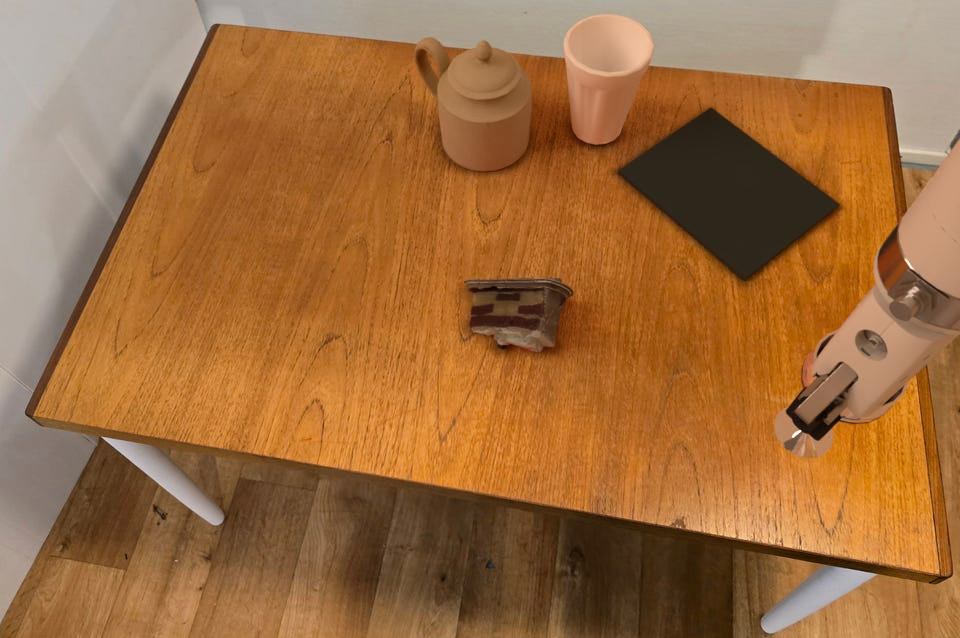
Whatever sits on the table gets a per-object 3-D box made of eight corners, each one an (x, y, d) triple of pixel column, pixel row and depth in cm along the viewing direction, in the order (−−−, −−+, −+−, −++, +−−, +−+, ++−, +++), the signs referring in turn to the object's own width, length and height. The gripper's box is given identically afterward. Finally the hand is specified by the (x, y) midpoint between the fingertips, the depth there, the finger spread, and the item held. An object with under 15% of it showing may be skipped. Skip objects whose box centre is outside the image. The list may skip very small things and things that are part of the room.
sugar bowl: (402, 161, 92) (385, 65, 78) (424, 97, 97) (411, -3, 84) (521, 178, 90) (524, 83, 77) (537, 112, 95) (542, 12, 82)
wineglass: (861, 443, 64) (930, 381, 53) (801, 483, 62) (860, 427, 52) (805, 382, 67) (860, 312, 56) (747, 418, 65) (792, 354, 55)
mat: (838, 207, 86) (840, 204, 86) (744, 281, 82) (745, 278, 81) (709, 110, 94) (710, 107, 94) (617, 173, 90) (618, 169, 89)
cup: (594, 171, 90) (607, 89, 79) (540, 124, 94) (544, 40, 82) (653, 131, 93) (674, 46, 81) (598, 87, 97) (610, 1, 85)
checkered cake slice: (446, 342, 79) (521, 337, 70) (456, 279, 81) (532, 266, 72) (512, 362, 85) (590, 359, 76) (520, 302, 87) (598, 293, 77)
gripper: (916, 399, 39) (800, 502, 54) (1095, 230, 44) (942, 367, 59) (801, 305, 42) (722, 427, 57) (980, 157, 47) (864, 305, 62)
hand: (835, 395), depth 58 cm, fingers closed on wineglass, 6 cm apart
